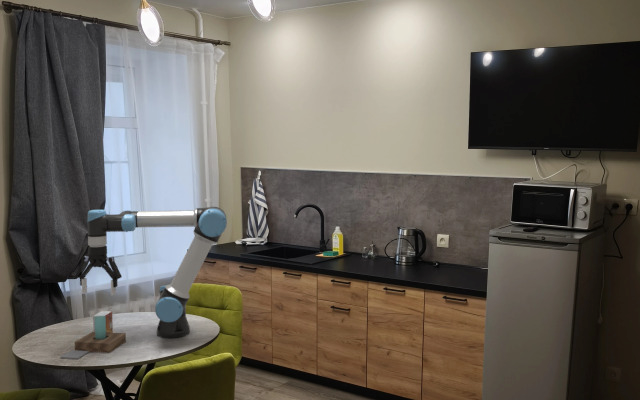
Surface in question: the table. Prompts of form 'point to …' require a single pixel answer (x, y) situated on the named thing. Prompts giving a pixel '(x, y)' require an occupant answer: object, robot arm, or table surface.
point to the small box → (108, 320)
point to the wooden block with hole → (100, 342)
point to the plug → (100, 327)
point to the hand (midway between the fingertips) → (99, 293)
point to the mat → (74, 354)
